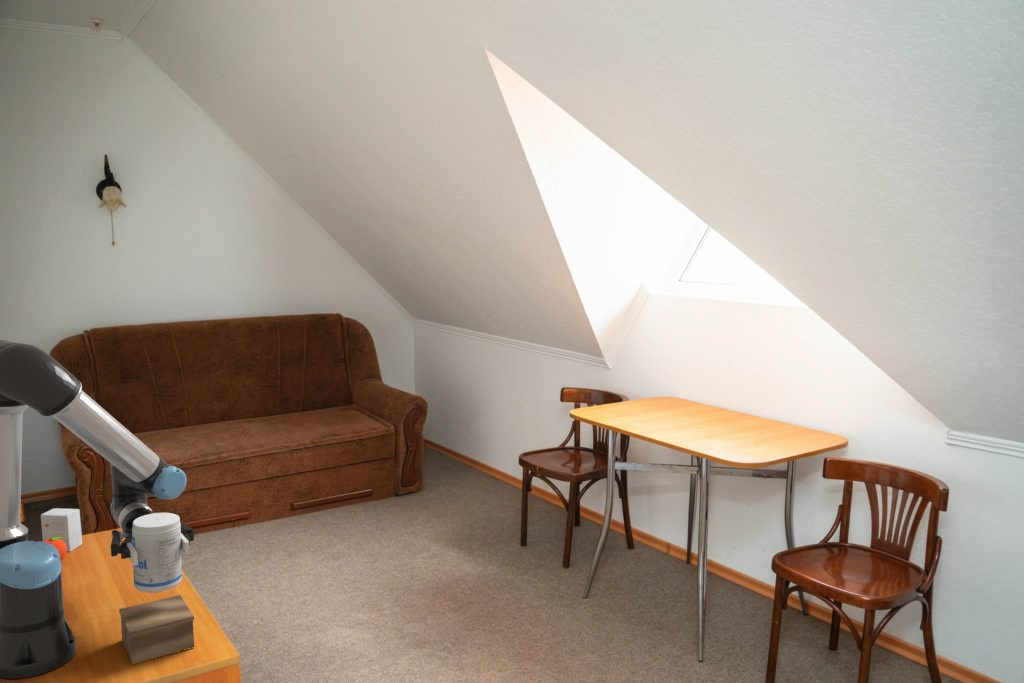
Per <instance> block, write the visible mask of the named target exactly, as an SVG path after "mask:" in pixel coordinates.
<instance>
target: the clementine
mask: <svg viewBox="0 0 1024 683" xmlns="http://www.w3.org/2000/svg"><path fill="white" fill-rule="evenodd" d="M59 538H63V537H55V538H50V539H47V540H45V541H44V542H46V543H49V544H51V545H53V546H54V547H56V548H57V550H58V552H59V555H60V560H61V562H62V561H63V560H64V559H65V558H66V556H67V553H68V552H67V546H66V544H65V542H64V541H62V540H61V539H59ZM65 539H66V538H65ZM66 540H67V539H66ZM67 541H68V540H67ZM68 542H69V541H68Z"/></svg>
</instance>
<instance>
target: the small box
mask: <svg viewBox="0 0 1024 683" xmlns="http://www.w3.org/2000/svg"><path fill="white" fill-rule="evenodd" d="M40 521H41V522H40V525H41V534H42V536H41V537H42V542H44V541H45V540H47V539H50V538H55V537H63V538H59V539H61V540H62V541H64V542H65V544H66V546H67V553H68V552H69V553H70V552H72V551H74V550H75V549H77V548H79V547H80V546H81V545H83V535H82V534H83V533H82V524H81V511H80V509H79V508H59V507H57V508H51V509H49V510H48V511H45V512H43V513H41V514H40ZM65 538H66V539H67V540H68V541H69V542H68V541H67V540H66V539H65Z"/></svg>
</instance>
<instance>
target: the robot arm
mask: <svg viewBox="0 0 1024 683" xmlns="http://www.w3.org/2000/svg"><path fill="white" fill-rule="evenodd" d="M82 384H83V383H82V382H81V381H80V380H79V379H77V377H75V375H73V374H72V373H71V372H70V371H69V370H68V369H66V368H65V367H64V366H63V365H62V364H61V363H60V362H58V361H57V360H56V359H55V358H53V356H52V355H50V354H49V353H47V352H46V351H45V350H43V349H41V348H39V347H37V346H35V345H32V344H28V343H23V342H21V343H20V342H15V341H9V340H6V339H5V340H3V339H0V678H1V679H7V680H8V679H9V680H16V679H18V680H19V679H25V678H32V677H36V676H40V675H42V674H43V675H44V674H46V673H48V672H51V671H54V670H56V669H58V668H59V667H62V666H64V665H65V664H66V663H68V662H70V660H72V659H73V657H74V656H76V652H77V642H76V637H75V635H74V633H73V631H72V629H71V627H70V625H69V622H67V620H66V617H65V609H64V608H65V607H64V592H63V576H62V570H63V564H62V561H61V560H60V555H59V552H58V550H57V548H56V547H54V546H53V545H51V544H49V543H46V542H43V541H42V540H40V541H36V542H35V541H34V540H29V529H28V527H26V525H24V524H22V523H21V503H22V502H21V497H22V466H23V465H22V461H23V460H22V458H23V456H22V455H23V426H24V424H23V421H24V419H23V417H24V412H25V411H26V410H27V409H28V408H31V409H33V410H34V411H35V412H38V414H40V415H41V416H43V417H44V418H50V417H52V418H53V419H54V420H56V421H57V422H58V423H60V424H61V425H63V426H64V427H65V428H66V429H67V430H68V431H70V432H71V433H72V434H73V435H75V436H76V437H77V438H79V439H80V440H81V441H82V442H84V443H85V444H86V445H87V446H89V447H90V448H91V449H93V450H94V451H95V452H96V453H97V454H99V455H100V456H101V457H102V458H104V459H105V460H106V461H108V462H109V463H110V474H111V484H112V488H111V489H112V501H111V503H110V514H111V517H112V519H113V520H114V521H115V522H116V523H117V525H118V526H119V528H120V529H121V530H122V531H121V530H120V531H118V530H117V529H113V530H111V542H110V555H111V557H117V556H119V555H118V554H120V559H121V560H125V559H129V560H130V562H131V563H132V566H133V565H134V566H135V565H138V557H137V551H136V550H135V548H134V547H133V545H132V528H133V521H134V520H135V519H137V518H139V517H141V516H144V515H148V514H153V513H155V512H154V511H153V510H152V509H151V507H150V506H149V505H148V504H149V503H148V495H149V496H152V497H155V498H157V499H159V500H161V499H162V500H166V501H167V500H174V499H176V498H178V497H179V496H181V495H182V493H183V492H184V490H185V489H186V486H187V482H188V481H187V475H186V473H185V471H183V469H181V468H178V467H177V466H174V465H170V464H168V463H167V462H166V461H165V460H164V459H163V458H161V456H159V455H158V454H157V453H156V452H154V451H153V450H152V449H151V448H149V447H148V446H147V445H146V444H145V443H144V442H142V440H141V439H139V438H138V437H137V436H135V435H134V433H132V432H131V431H130V430H129V429H128V428H127V427H125V426H124V425H123V424H122V423H121V422H119V421H118V420H117V419H116V418H115V417H113V415H111V414H110V413H109V412H108V411H107V410H106V409H105V408H103V407H102V406H101V405H100V404H98V403H97V402H96V401H95V399H93V398H92V397H91V396H90V395H88V394H87V393H86V392H85V391H84V390H83V385H82ZM194 532H195V530H194V528H192V527H190V526H187V525H185V524H183V523H181V552H183V553H184V555H186V556H187V555H190V546H191V542H192V541H194V540H195V533H194ZM122 540H123V541H122Z"/></svg>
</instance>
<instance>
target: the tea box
mask: <svg viewBox="0 0 1024 683" xmlns="http://www.w3.org/2000/svg"><path fill="white" fill-rule="evenodd" d="M118 611H119V612H118V613H119V615H120V623H121V624H120V626H121V641H122V640H123V641H122V643H123V645H124V648H125V650H127V651H126V653H127V655H128V658H129V660H130V662H132V663H131V664H133V665H135V664H134V663H137V664H139V663H138V662H140V663H143V662H142V661H144V662H146V660H148V661H150V660H149V659H151V660H154V659H153V658H155V659H158V658H157V657H159V658H161V657H160V656H162V657H165V656H164V655H166V656H168V655H167V654H170V655H172V654H171V653H173V654H176V653H175V652H177V653H179V652H178V651H181V652H183V651H182V650H184V649H188V648H191V649H193V648H192V647H194V648H195V634H194V621H195V616H194V614H193V613H192V611H191V609H190V608H189V606H188V604H187V603H186V602H185V600H184V599H183V597H182V595H181V594H178V595H175V596H169V597H166V598H161V599H157V600H152V601H148V602H145V603H140V604H136V605H132V606H131V605H130V606H128V607H123V608H119V609H118ZM188 650H189V649H188ZM184 651H185V650H184Z"/></svg>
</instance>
